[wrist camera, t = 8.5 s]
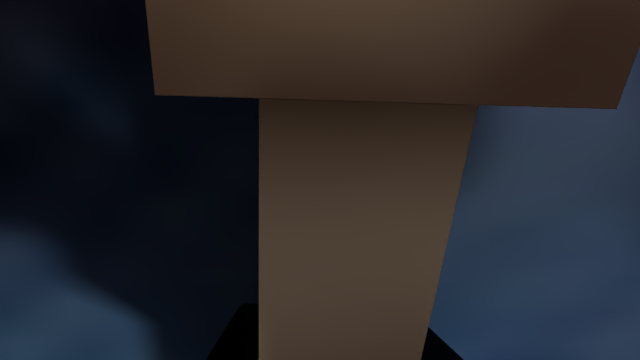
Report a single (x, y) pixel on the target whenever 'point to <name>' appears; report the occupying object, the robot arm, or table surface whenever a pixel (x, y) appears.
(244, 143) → the table surface
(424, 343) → the robot arm
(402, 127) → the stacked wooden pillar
